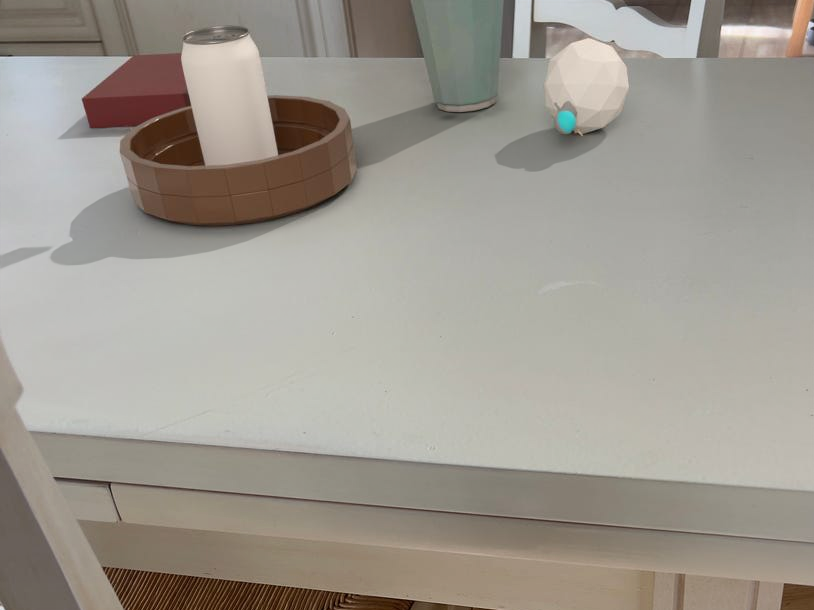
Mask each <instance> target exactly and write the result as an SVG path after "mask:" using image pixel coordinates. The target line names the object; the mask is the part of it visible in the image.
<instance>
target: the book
mask: <svg viewBox="0 0 814 610" xmlns="http://www.w3.org/2000/svg"><path fill="white" fill-rule="evenodd" d="M181 55H182V52H175V53H157V54H156V53H155V54H137V55H136V54H135V55H132V56H131V57H130V58H129V59H128V60H126V61H124V62H123V64H121V65H120V66H119V67H118V68H116V69H115V70H114V71H113V72H112V73H111V74H110V75H108V76H107V77H106V78H104V80H102V81H101V82H100V83H99V84H97V85H96V86H94V88H93V89H91V90H90V91H89V92H88V93H86V94H85V95H84V96H83V97H81V102H82V106H83V108H84V112H85V116H86V119H87V123H88V125H89V129H101V128H117V127H118V128H119V127H120V128H121V127H136V126H138V125H140V124H142V123H144V122H146V121H148V120H150V119H152V118H154V117H157V116H160V115H163V114H166V113H169V112H172V111H174V110H177V109H181V108H184V107H189V106H191V102H190V98H189V93H188V89H187V85H186V80H185V76H184V71H183V67H182V61H181Z"/></svg>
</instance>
